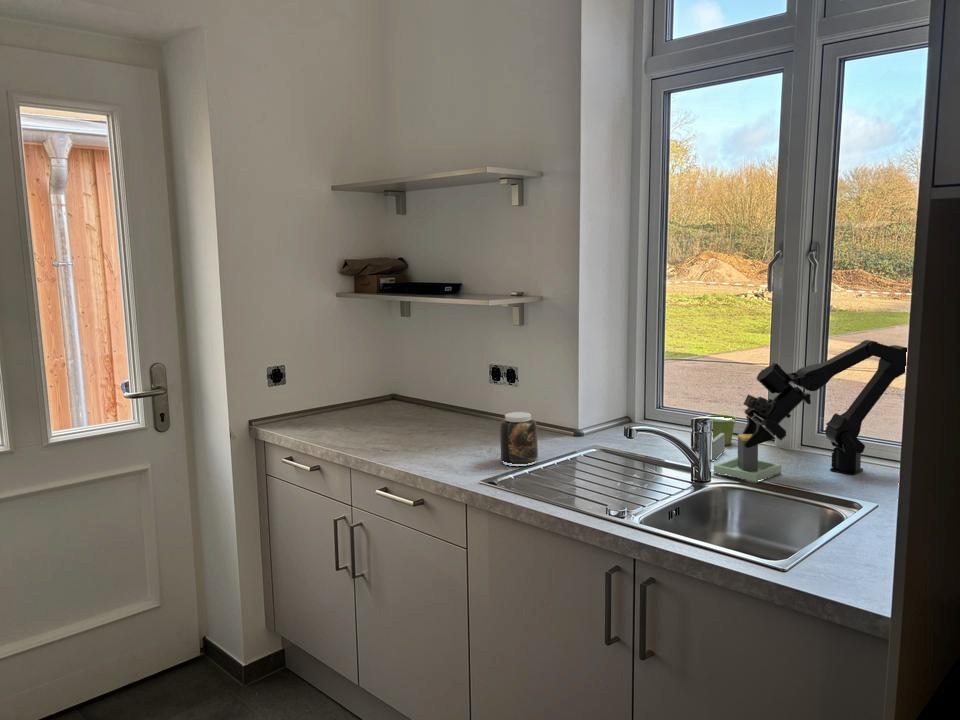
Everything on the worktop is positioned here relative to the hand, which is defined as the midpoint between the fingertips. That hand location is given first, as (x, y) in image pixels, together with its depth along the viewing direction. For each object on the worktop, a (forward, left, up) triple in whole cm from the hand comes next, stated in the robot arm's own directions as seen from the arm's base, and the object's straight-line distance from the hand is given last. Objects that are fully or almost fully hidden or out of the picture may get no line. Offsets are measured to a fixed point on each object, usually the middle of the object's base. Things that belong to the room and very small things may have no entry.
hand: (742, 444), depth 209 cm
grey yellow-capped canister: (-1, -1, -7) cm, 7 cm away
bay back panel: (+15, -11, -8) cm, 21 cm away
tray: (-1, -1, -8) cm, 9 cm away
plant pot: (+23, -25, -9) cm, 35 cm away
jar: (+55, +35, -9) cm, 66 cm away
